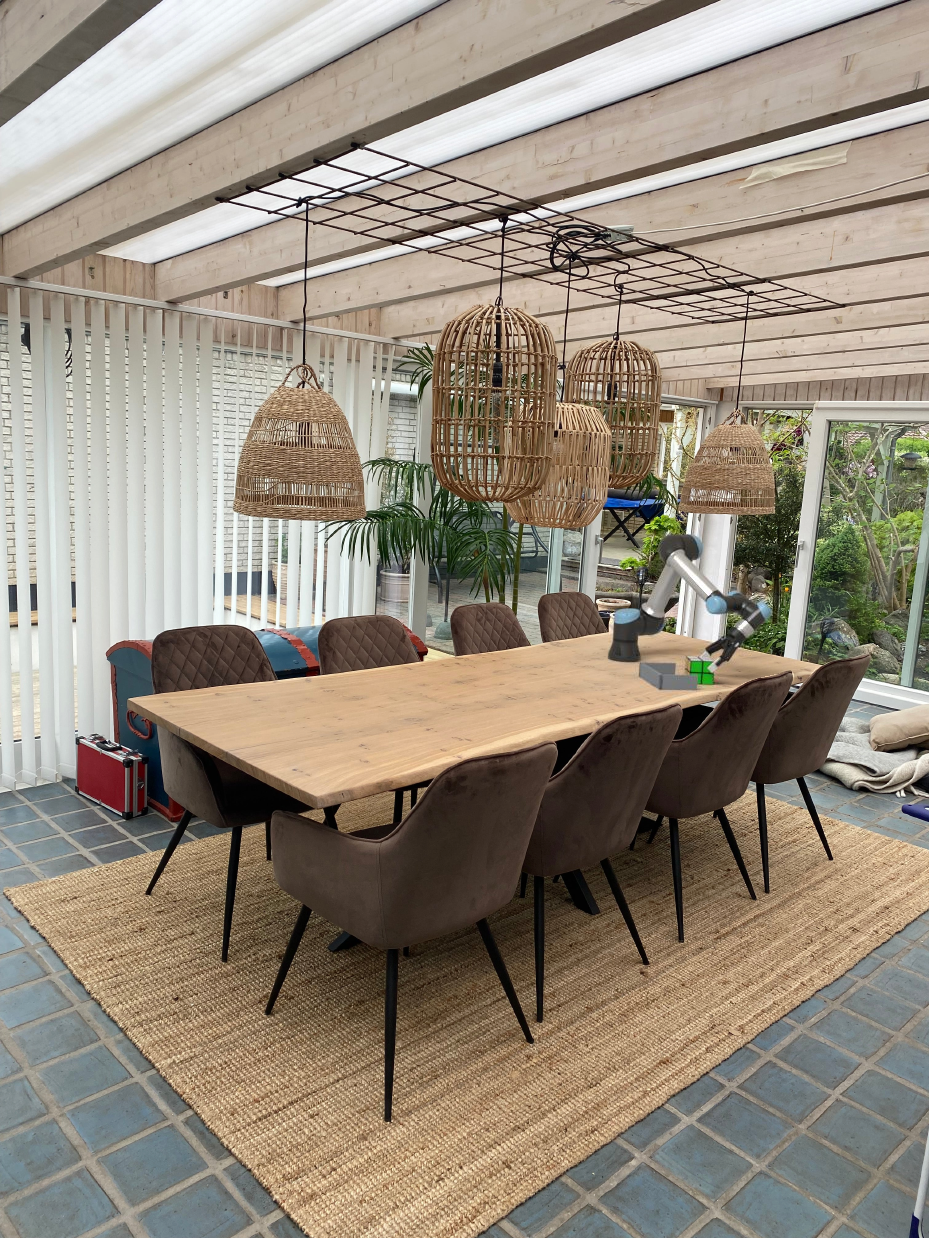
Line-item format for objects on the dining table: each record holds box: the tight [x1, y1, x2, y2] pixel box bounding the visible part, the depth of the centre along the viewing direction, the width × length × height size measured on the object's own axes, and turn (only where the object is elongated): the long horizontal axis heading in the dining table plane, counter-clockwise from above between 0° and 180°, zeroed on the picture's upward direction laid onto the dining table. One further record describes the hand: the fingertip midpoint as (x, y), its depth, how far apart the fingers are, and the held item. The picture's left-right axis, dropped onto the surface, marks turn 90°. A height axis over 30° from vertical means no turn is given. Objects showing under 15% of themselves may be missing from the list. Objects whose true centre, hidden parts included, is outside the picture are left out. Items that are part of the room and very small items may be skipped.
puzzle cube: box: [683, 655, 715, 686], centre depth 374 cm, size 10×10×10 cm
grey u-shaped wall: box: [638, 662, 698, 691], centre depth 369 cm, size 25×16×6 cm, turn 7°
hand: (703, 667), depth 374 cm, fingers open, 13 cm apart
